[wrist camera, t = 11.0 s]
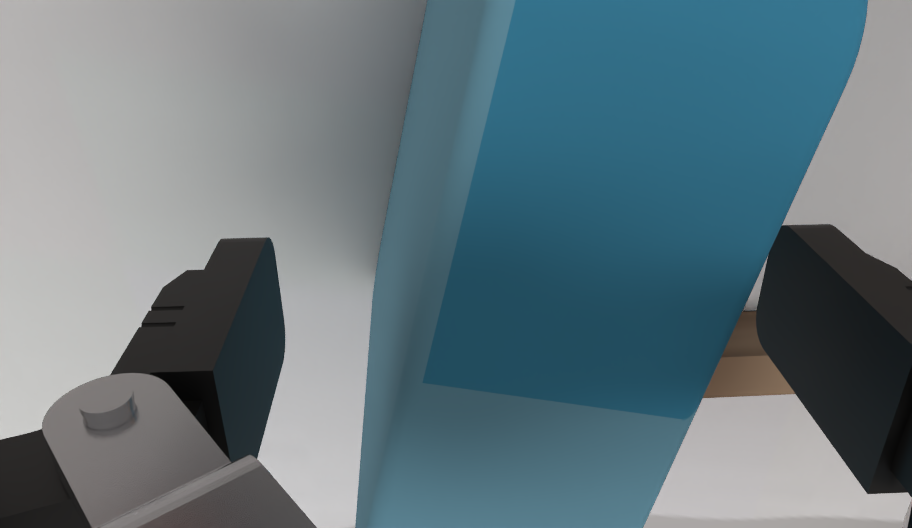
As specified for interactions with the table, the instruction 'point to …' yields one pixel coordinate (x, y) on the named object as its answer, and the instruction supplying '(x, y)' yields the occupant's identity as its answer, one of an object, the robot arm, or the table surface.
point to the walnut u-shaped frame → (746, 366)
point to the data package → (578, 244)
